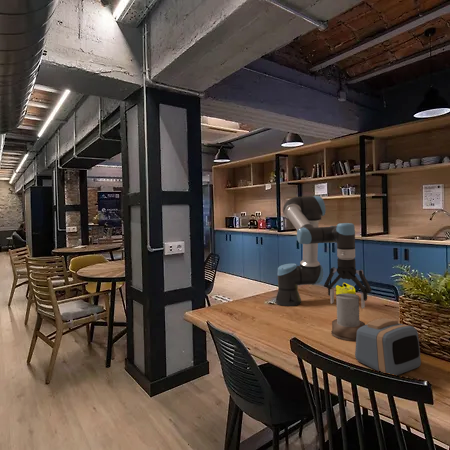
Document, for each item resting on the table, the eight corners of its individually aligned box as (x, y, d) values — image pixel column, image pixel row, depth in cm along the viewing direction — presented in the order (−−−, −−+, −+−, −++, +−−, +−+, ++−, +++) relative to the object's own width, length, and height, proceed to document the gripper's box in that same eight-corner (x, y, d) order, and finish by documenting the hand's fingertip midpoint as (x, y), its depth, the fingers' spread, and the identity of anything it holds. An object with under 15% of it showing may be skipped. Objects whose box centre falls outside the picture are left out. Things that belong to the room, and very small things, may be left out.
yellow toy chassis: (356, 301, 198) (356, 287, 198) (347, 301, 197) (347, 288, 197) (343, 294, 214) (343, 281, 213) (335, 295, 213) (335, 282, 213)
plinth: (326, 336, 146) (326, 325, 145) (337, 326, 157) (337, 316, 157) (361, 343, 136) (360, 331, 136) (370, 332, 148) (370, 321, 148)
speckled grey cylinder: (356, 319, 151) (355, 293, 150) (362, 327, 141) (361, 298, 141) (334, 319, 152) (333, 293, 151) (340, 327, 142) (339, 299, 142)
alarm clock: (391, 380, 107) (390, 332, 107) (352, 360, 122) (351, 318, 121) (423, 368, 114) (422, 323, 113) (383, 351, 129) (382, 311, 128)
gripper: (315, 257, 150) (317, 303, 152) (374, 261, 135) (375, 312, 136) (322, 255, 156) (323, 298, 157) (378, 258, 141) (379, 307, 142)
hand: (347, 305), depth 147 cm, fingers open, 13 cm apart
